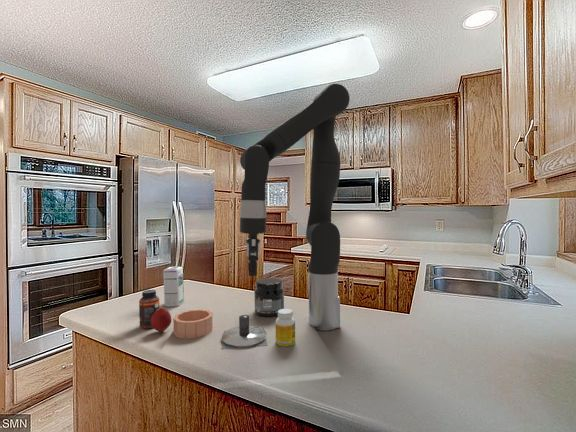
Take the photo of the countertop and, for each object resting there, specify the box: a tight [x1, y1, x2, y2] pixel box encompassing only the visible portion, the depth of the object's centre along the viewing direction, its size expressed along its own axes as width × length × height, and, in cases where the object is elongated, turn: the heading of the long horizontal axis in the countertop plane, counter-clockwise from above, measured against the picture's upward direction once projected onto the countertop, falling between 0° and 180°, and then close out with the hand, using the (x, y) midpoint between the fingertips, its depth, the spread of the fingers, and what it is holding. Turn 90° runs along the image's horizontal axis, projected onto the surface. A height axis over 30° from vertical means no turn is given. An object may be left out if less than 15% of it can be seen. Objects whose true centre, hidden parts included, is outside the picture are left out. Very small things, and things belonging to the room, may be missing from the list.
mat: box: [221, 327, 268, 350], centre depth 86 cm, size 12×12×1 cm
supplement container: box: [253, 277, 285, 318], centre depth 107 cm, size 10×10×12 cm
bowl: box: [172, 308, 214, 339], centre depth 92 cm, size 11×11×6 cm
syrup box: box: [162, 266, 185, 307], centre depth 120 cm, size 6×6×14 cm
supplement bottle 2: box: [274, 308, 296, 348], centre depth 83 cm, size 5×5×10 cm
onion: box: [151, 305, 172, 333], centre depth 93 cm, size 6×6×8 cm
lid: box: [221, 314, 267, 349], centre depth 86 cm, size 12×12×6 cm
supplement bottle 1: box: [138, 289, 160, 330], centre depth 98 cm, size 6×6×11 cm
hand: (252, 272), depth 88 cm, fingers open, 8 cm apart
